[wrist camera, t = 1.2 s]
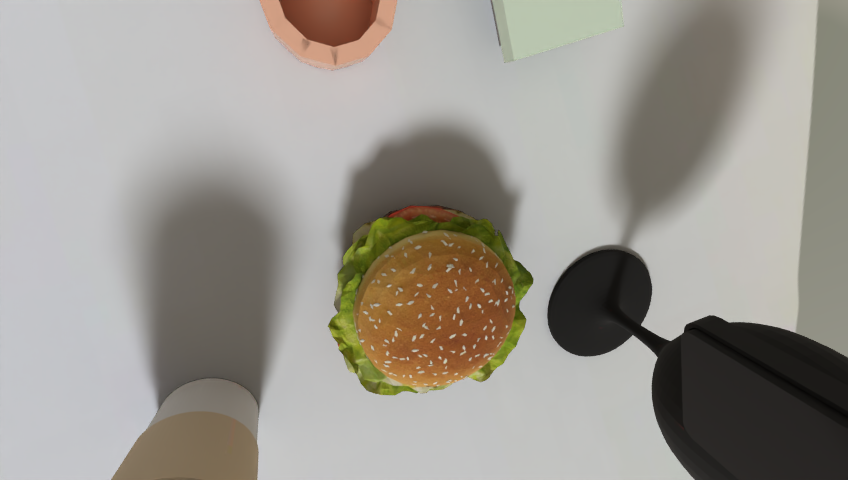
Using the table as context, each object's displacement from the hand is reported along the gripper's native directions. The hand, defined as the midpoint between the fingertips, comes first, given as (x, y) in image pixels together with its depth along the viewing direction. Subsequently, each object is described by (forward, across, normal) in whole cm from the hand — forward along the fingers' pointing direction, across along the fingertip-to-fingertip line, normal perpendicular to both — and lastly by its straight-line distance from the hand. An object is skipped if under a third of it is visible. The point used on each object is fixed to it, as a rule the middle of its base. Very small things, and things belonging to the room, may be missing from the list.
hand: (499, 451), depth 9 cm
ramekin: (+23, -1, -13) cm, 26 cm away
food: (+24, -2, +7) cm, 25 cm away
